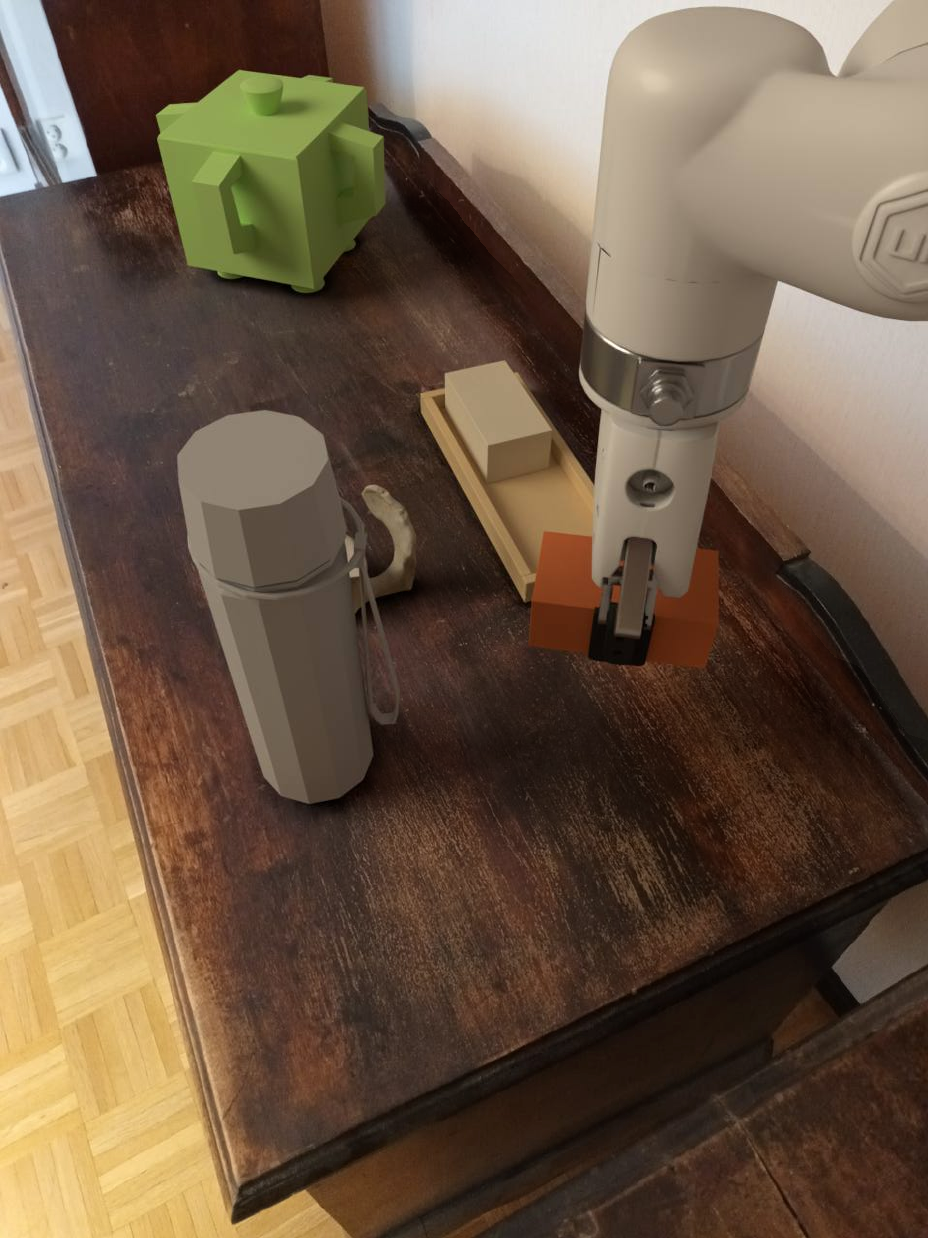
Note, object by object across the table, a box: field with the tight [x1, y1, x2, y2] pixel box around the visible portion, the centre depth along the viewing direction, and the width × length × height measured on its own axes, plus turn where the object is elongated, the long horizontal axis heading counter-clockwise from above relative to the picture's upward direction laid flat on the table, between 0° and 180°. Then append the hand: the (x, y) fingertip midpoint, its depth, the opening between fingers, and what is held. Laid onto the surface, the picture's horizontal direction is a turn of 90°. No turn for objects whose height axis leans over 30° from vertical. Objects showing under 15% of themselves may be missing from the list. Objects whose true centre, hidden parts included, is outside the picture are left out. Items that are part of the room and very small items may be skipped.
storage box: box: [155, 69, 387, 294], centre depth 91 cm, size 25×23×17 cm
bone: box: [345, 484, 417, 614], centre depth 65 cm, size 9×6×10 cm
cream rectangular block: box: [444, 359, 552, 484], centre depth 77 cm, size 10×6×4 cm, turn 20°
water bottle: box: [176, 409, 401, 805], centre depth 49 cm, size 9×8×25 cm
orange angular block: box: [528, 531, 720, 670], centre depth 53 cm, size 10×6×4 cm, turn 80°
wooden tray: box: [419, 371, 595, 603], centre depth 74 cm, size 24×9×2 cm, turn 20°
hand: (620, 615), depth 54 cm, fingers closed on orange angular block, 5 cm apart
